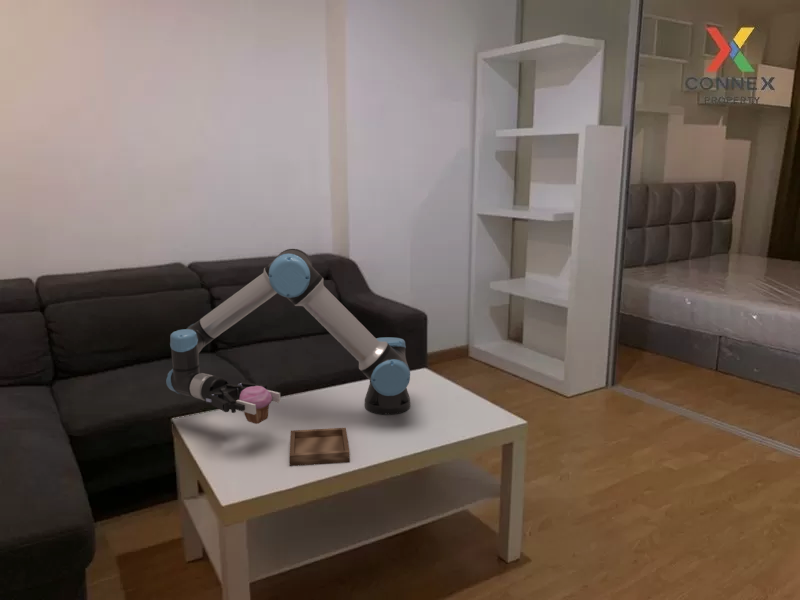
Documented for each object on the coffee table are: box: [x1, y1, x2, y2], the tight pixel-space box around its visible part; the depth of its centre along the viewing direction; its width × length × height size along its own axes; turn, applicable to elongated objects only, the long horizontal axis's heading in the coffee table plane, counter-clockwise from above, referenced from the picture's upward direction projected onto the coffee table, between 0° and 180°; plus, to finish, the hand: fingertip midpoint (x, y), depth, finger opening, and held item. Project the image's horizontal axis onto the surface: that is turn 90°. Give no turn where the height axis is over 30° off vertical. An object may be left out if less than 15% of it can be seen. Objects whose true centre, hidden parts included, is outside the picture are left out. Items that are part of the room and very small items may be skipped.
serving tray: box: [288, 427, 351, 467], centre depth 180 cm, size 16×16×3 cm
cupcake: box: [238, 386, 273, 425], centre depth 178 cm, size 9×9×10 cm
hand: (267, 403), depth 176 cm, fingers closed on cupcake, 9 cm apart
